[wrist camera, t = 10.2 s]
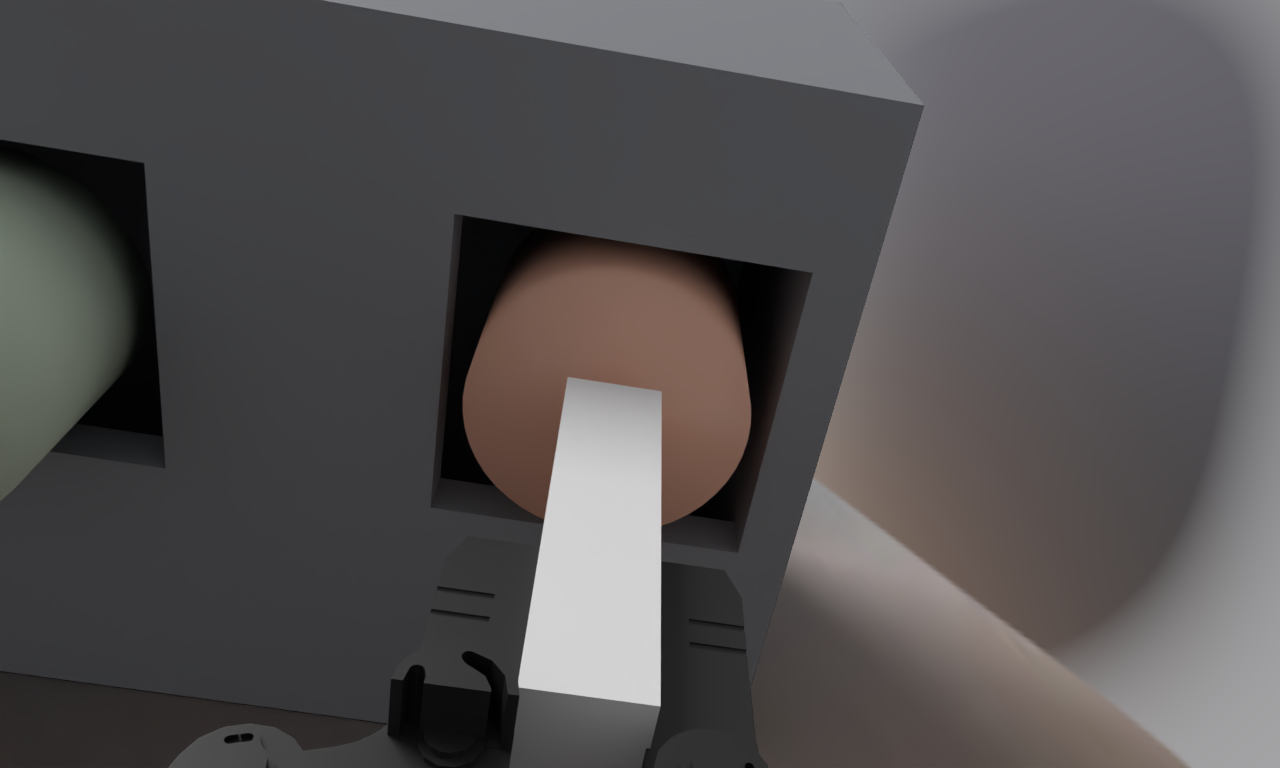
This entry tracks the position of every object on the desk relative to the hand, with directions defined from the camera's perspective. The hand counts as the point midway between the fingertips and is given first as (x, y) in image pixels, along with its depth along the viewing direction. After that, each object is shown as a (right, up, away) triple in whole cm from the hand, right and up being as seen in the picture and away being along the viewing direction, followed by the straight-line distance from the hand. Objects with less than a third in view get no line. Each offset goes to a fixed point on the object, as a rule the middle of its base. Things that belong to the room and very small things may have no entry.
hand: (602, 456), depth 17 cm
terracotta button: (0, -1, +4) cm, 4 cm away
